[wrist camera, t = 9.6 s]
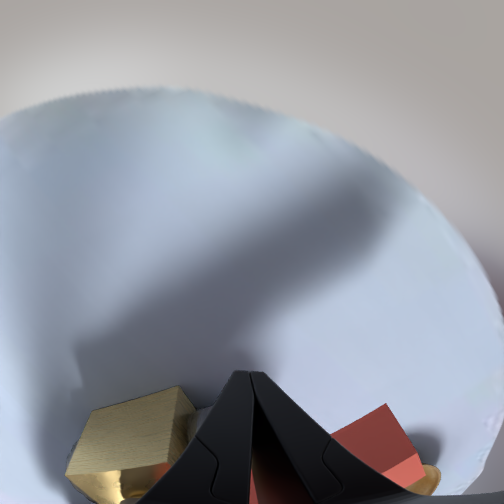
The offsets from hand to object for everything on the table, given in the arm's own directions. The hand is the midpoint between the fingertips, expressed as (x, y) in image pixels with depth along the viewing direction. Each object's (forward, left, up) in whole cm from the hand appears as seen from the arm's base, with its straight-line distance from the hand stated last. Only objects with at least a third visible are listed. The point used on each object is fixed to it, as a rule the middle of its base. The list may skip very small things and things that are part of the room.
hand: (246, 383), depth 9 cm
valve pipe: (-9, -8, -8) cm, 14 cm away
